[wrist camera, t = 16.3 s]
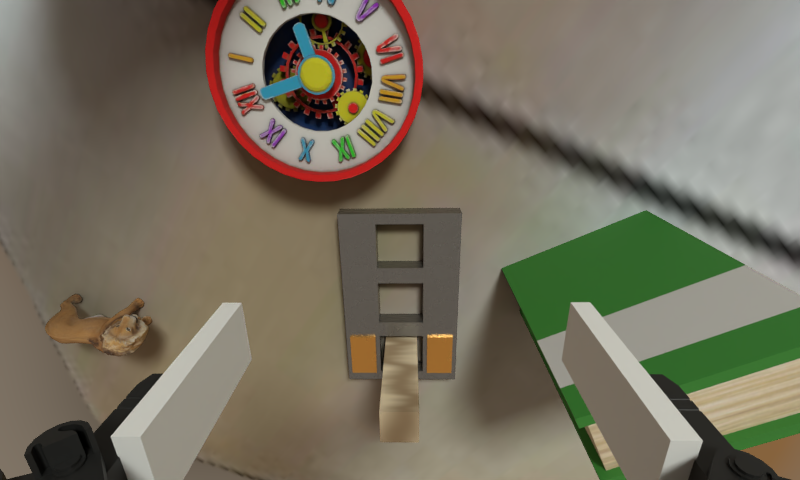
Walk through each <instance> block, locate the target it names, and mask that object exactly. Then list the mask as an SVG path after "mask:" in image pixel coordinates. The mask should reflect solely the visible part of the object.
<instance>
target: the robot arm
mask: <svg viewBox="0 0 800 480" xmlns="http://www.w3.org/2000/svg"><path fill="white" fill-rule="evenodd" d="M251 360H252V358H251V352H250V347H249V341H248V335H247V330H246V324H245V319H244V313H243V307H242V303H222V305H221V306H220V307H219V308H218V309H217V310H216V312H215V313H214V314H213V315H212V316H211V318H210V319H209V320H208V321H207V322H206V324H205V325H204V326H203V327H202V328H201V330H200V331H199V332H198V333H197V334H196V335H195V337H194V338H193V339H192V340H191V341H190V343H189V344H188V345H187V346H186V347H185V349H184V350H183V351H182V352H181V353H180V355H179V356H178V357H177V358H176V359H175V360H174V362H173V363H172V364H171V365H170V366H169V368H168V369H167V370H166V371H165V372H164V374H152V375H150V376H149V377H147V378H146V379H145V380H143V381H142V382H140V383H139V384H137V385H136V387H135V388H134V389H133V390H132V391H131V392H130V393H129V394H128V395H127V397H126V399H124V400H123V401H122V402H121V403H120V404H119V405H118V408H117V409H115V410H114V411H113V412H112V413H111V414H110V416H109V417H108V418H107V419H106V420H105V421H104V422H103V423H102V424H101V426H100V427H99V428H98V429H97V430H96V431H95V432H94V433H93V431H92V428H91V426H90V425H89V423H88V422H85V421H81V420H80V421H70V422H66V423H63V424H59V425H57V426H55V427H53V428H51V429H49V430H47V431H45V432H44V433H42V434H41V435H40V436H38V437H37V438H35V439H34V440H33V442H32V443H31V444H30V445H29V446H28V447H27V449H26V452H25V454H24V456H25V458H26V460H27V463H28V465H29V467H30V469H31V471H32V473H31V474H27V475H23V476H19V477H14V478H10V479H6V477H5V475H4V473H3V472H2V471H1V469H0V480H184V478H185V476H186V474H187V473H188V471H189V469H190V467H191V465H192V464H193V462H194V460H195V458H196V457H197V455H198V453H199V451H200V450H201V448H202V446H203V444H204V443H205V441H206V439H207V437H208V435H209V434H210V432H211V430H212V428H213V427H214V425H215V423H216V421H217V420H218V418H219V416H220V414H221V413H222V411H223V409H224V407H225V406H226V404H227V402H228V400H229V398H230V397H231V395H232V393H233V391H234V390H235V388H236V386H237V384H238V383H239V381H240V379H241V377H242V376H243V374H244V372H245V370H246V368H247V367H248V365H249V363H250V361H251ZM562 362H563V363H564V365H565V367H566V369H567V371H568V373H569V374H570V376H571V378H572V380H573V382H574V384H575V386H576V387H577V389H578V391H579V393H580V395H581V397H582V398H583V400H584V402H585V404H586V406H587V408H588V409H589V411H590V413H591V415H592V417H593V419H594V421H595V422H596V424H597V426H598V428H599V430H600V432H601V433H602V435H603V437H604V439H605V441H606V443H607V444H608V446H609V448H610V450H611V452H612V454H613V456H614V457H615V459H616V461H617V463H618V465H619V467H620V468H621V470H622V472H623V474H624V476H625V478H626V479H627V480H790V479H786V478H782V477H779V476H777V474H776V473H775V472H774V470H773V469H772V468H770V467H769V466H768V465H767V464H765V463H764V462H763V461H762V460H760V459H758V458H756V457H754V456H753V455H750V454H749V453H746V452H743V451H740V450H737V449H734V448H733V447H732V446H731V444H730V443H729V442H728V441H727V440H726V439H725V438H724V436H723V435H722V434H721V433H720V432H719V431H718V430H717V429H716V427H715V426H714V425H713V424H712V423H711V422H710V421H709V419H708V418H707V417H706V416H705V415H704V414H703V413H702V411H699V408H698V407H697V406H696V405H695V404H694V402H693V401H690V398H689V397H688V396H687V394H686V393H685V392H684V391H683V390H682V389H681V388H680V387H679V385H677V384H676V383H674V382H673V381H671V380H670V379H668V378H667V377H666V376H664V375H663V374H648V373H647V371H646V370H645V369H644V368H643V367H642V365H641V364H640V363H639V362H638V360H637V359H636V358H635V357H634V355H633V354H632V353H631V352H630V351H629V349H628V348H627V347H626V346H625V344H624V343H623V342H622V341H621V340H620V338H619V337H618V336H617V335H616V333H615V332H614V331H613V330H612V328H611V327H610V326H609V325H608V324H607V322H606V321H605V320H604V319H603V317H602V316H601V315H600V314H599V312H598V311H597V310H596V309H595V308H594V306H593V305H592V304H591V303H590V302H571V303H570V309H569V316H568V322H567V328H566V335H565V341H564V347H563V354H562Z"/></svg>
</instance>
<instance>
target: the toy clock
mask: <svg viewBox="0 0 800 480" xmlns="http://www.w3.org/2000/svg"><path fill="white" fill-rule="evenodd" d="M205 55H206V72H207V77H208V82H209V87H210V91H211V94H212V97H213V99H214V102H215V105H216V107H217V110H218V112H219V114H220V115H221V117H222V119H223V121H224V123H225V124H226V126H227V128H228V129H229V130H230V132H231V133H232V134H233V136H234V137H235V138H236V140H237V141H238V142H239V143H240V144H241V145H242V146H243V147H244V148H245V149H246V150H247V151H248V152H249V153H250V154H251V155H252V156H254V157H255V158H257V159H258V160H259V161H261V162H262V163H264V164H265V165H266V166H268V167H270V168H272V169H274V170H276V171H278V172H280V173H282V174H284V175H288V176H291V177H294V178H297V179H301V180H308V181H316V182H325V181H338V180H342V179H347V178H351V177H354V176H356V175H359V174H361V173H364V172H366V171H368V170H370V169H371V168H373V167H374V166H376V165H377V164H379V163H381V162H382V161H383V160H384V159H385V158H386V157H388V156H389V155H390V154H391V153H392V152H393V151H394V150H395V149H396V148H397V146H398V145H399V144H400V142H401V141H402V139H403V138H404V137H405V135H406V134H407V132H408V130H409V128H410V126H411V124H412V122H413V120H414V118H415V115H416V112H417V109H418V105H419V102H420V98H421V91H422V84H423V59H422V53H421V48H420V43H419V38H418V35H417V32H416V29H415V27H414V24H413V21H412V18H411V16H410V14H409V13H408V11H407V9H406V7H405V6H404V4H403V2H402V0H218V2H217V4H216V6H215V8H214V10H213V13H212V17H211V20H210V23H209V27H208V32H207V40H206V48H205Z"/></svg>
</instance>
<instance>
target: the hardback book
mask: <svg viewBox="0 0 800 480" xmlns="http://www.w3.org/2000/svg"><path fill="white" fill-rule="evenodd" d="M502 270H503V273H504V275H505V277H506V279H507V281H508V283H509V285H510V287H511V290H512V292H513V294H514V296H515V298H516V300H517V302H518V304H519V306H520V308H521V310H520V313H521V315H522V317H523V319H524V321H525V324H526V326H527V328H528V330H529V332H530V334H531V336H532V338H533V340H534V342H535V345H536V347H537V349H538V351H539V353H540V355H541V357H542V359H543V361H544V364H545V366H546V368H547V370H548V372H549V374H550V376H551V378H552V380H553V382H554V385H555V387H556V389H557V391H558V393H559V395H560V397H561V399H562V401H563V403H564V406H565V408H566V410H567V412H568V414H569V416H570V418H571V420H572V422H573V424H574V427H575V429H576V431H577V433H578V435H579V437H580V439H581V441H582V443H583V446H584V448H585V450H586V452H587V454H588V456H589V458H590V460H591V462H592V464H593V467H594V469H595V471H596V473H597V475H598V477H599V479H600V480H627V479H626V478H625V476H624V474H623V472H622V470H621V468H620V467H619V465H618V463H617V461H616V459H615V457H614V456H613V454H612V452H611V450H610V448H609V446H608V444H607V443H606V441H605V439H604V437H603V435H602V433H601V432H600V430H599V428H598V426H597V424H596V422H595V421H594V419H593V417H592V415H591V413H590V411H589V409H588V408H587V406H586V404H585V402H584V400H583V398H582V397H581V395H580V393H579V391H578V389H577V387H576V386H575V384H574V382H573V380H572V378H571V376H570V374H569V373H568V371H567V369H566V367H565V365H564V363H563V362H562V354H563V347H564V341H565V335H566V328H567V322H568V316H569V309H570V303H571V302H590V303H591V304H592V305H593V306H594V308H595V309H596V310H597V311H598V312H599V314H600V315H601V316H602V317H603V319H604V320H605V321H606V322H607V324H608V325H609V326H610V327H611V328H612V330H613V331H614V332H615V333H616V335H617V336H618V337H619V338H620V340H621V341H622V342H623V343H624V344H625V346H626V347H627V348H628V349H629V351H630V352H631V353H632V354H633V355H634V357H635V358H636V359H637V360H638V362H639V363H640V364H641V365H642V367H643V368H644V369H645V370H646V371H647V373H648V374H663V375H664V376H666V377H667V378H668V379H670V380H671V381H673V382H674V383H676V384H677V385H679V387H680V388H681V389H682V390H683V391H684V392H685V393H686V394H687V396H688V397H689V398H690V401H693V402H694V404H695V405H696V406H697V407H698V408H699V411H702V413H703V414H704V415H705V416H706V417H707V418H708V419H709V421H710V422H711V423H712V424H713V425H714V426H715V427H716V429H717V430H718V431H719V432H720V433H721V434H722V435H723V436H724V438H725V439H726V440H727V441H728V442H729V443H730V444H731V446H732V447H733V448H734V449H737V450H743V449H746V448H750V447H753V446H757V445H760V444H763V443H767V442H771V441H774V440H778V439H781V438H785V437H788V436H791V435H795V434H798V433H800V295H799V294H797V293H796V292H794V291H792V290H790V289H788V288H786V287H785V286H783V285H781V284H779V283H777V282H776V281H774V280H772V279H770V278H768V277H766V276H765V275H763V274H761V273H759V272H757V271H756V270H754V269H752V268H750V267H748V266H746V265H745V264H743V263H741V262H739V261H737V260H736V259H734V258H732V257H730V256H728V255H726V254H725V253H723V252H721V251H719V250H717V249H715V248H714V247H712V246H710V245H708V244H706V243H705V242H703V241H701V240H699V239H697V238H695V237H694V236H692V235H690V234H688V233H686V232H685V231H683V230H681V229H679V228H677V227H675V226H674V225H672V224H670V223H668V222H666V221H665V220H663V219H661V218H659V217H657V216H655V215H654V214H652V213H650V212H648V211H643V212H641V213H638V214H636V215H633V216H631V217H628V218H626V219H623V220H621V221H618V222H616V223H613V224H611V225H608V226H606V227H603V228H601V229H598V230H596V231H594V232H591V233H589V234H586V235H584V236H581V237H579V238H576V239H574V240H571V241H569V242H566V243H564V244H561V245H559V246H556V247H554V248H551V249H549V250H546V251H544V252H541V253H539V254H536V255H534V256H531V257H529V258H526V259H524V260H521V261H519V262H516V263H514V264H511V265H509V266H506V267H504V268H502Z"/></svg>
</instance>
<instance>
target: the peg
mask: <svg viewBox="0 0 800 480" xmlns="http://www.w3.org/2000/svg"><path fill="white" fill-rule="evenodd" d="M379 420H380V442H419V393H418V358H417V336H386V343H385V354H384V365H383V376H382V386H381V397H380V408H379Z"/></svg>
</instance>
